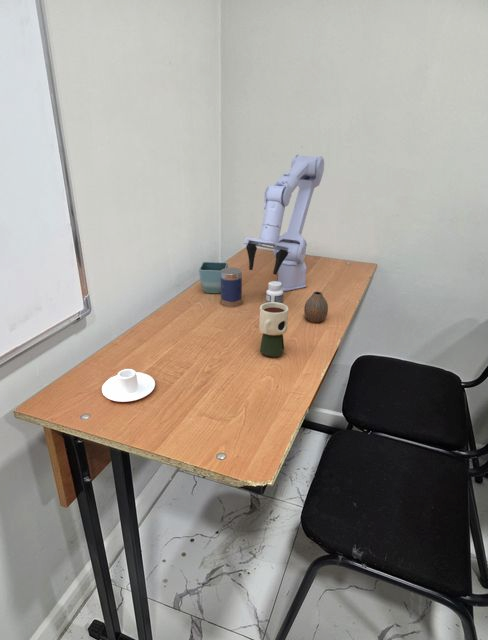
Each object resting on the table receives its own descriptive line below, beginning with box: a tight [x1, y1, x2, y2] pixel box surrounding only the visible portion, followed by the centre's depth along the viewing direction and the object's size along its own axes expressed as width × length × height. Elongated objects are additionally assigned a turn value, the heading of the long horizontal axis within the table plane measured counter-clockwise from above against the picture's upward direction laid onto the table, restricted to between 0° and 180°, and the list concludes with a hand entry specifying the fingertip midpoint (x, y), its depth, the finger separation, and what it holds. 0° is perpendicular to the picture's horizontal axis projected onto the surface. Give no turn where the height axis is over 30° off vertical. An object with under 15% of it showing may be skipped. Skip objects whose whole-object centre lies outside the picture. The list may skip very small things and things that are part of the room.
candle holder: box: [101, 368, 156, 403], centre depth 101 cm, size 12×12×4 cm
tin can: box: [220, 266, 243, 308], centre depth 143 cm, size 7×7×11 cm
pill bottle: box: [265, 280, 284, 304], centre depth 138 cm, size 5×5×9 cm
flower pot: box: [198, 261, 229, 294], centre depth 152 cm, size 9×9×9 cm
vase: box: [303, 290, 329, 324], centre depth 132 cm, size 7×7×9 cm
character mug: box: [258, 302, 289, 358], centre depth 114 cm, size 11×7×13 cm, turn 154°
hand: (262, 272), depth 136 cm, fingers open, 7 cm apart
